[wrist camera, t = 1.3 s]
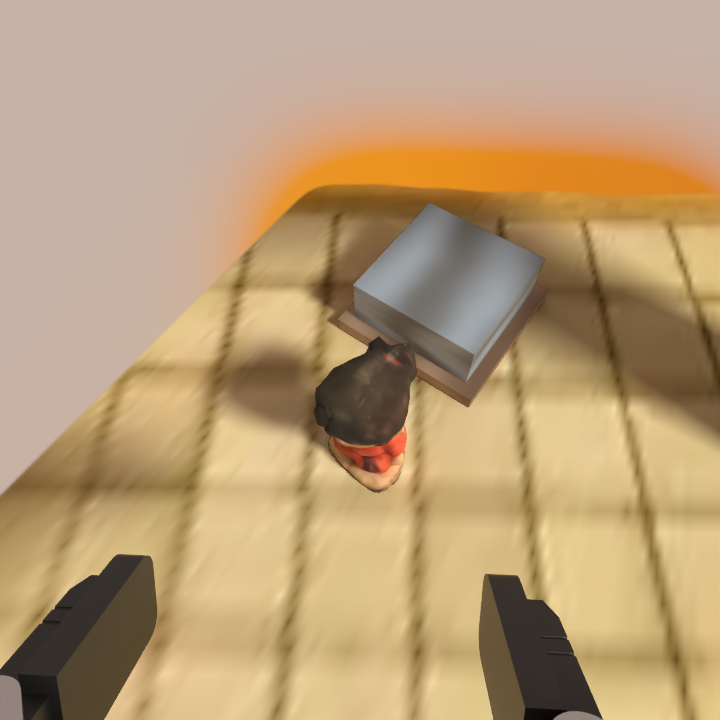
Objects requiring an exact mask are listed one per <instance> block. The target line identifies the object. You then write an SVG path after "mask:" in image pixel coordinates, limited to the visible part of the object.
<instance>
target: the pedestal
mask: <svg viewBox="0 0 720 720" xmlns="http://www.w3.org/2000/svg"><path fill="white" fill-rule="evenodd" d="M544 260H545V258H543V257H541V256H538V255H536V254H534V253H532V252H530V251H528V250H526V249H524V248H522V247H520V246H518V245H516V244H514V243H512V242H509V241H507V240H505V239H503V238H501V237H499V236H497V235H495V234H493V233H491V232H489V231H487V230H485V229H482V228H480V227H478V226H476V225H474V224H472V223H470V222H468V221H466V220H464V219H462V218H460V217H458V216H456V215H453V214H451V213H449V212H447V211H445V210H443V209H441V208H439V207H437V206H435V205H433V204H431V203H429V204H428V205H427V206H426V207H425V208H424V209H423V210H422V211H421V212H420V213H419V215H418V216H417V217H416V218H415V219H414V220H413V221H412V222H411V223H410V224H409V225H408V226H407V227H406V229H405V230H404V231H403V232H402V233H401V234H400V235H399V236H398V237H397V238H396V239H395V240H394V241H393V243H392V244H391V245H390V246H389V247H388V248H387V249H386V250H385V251H384V252H383V253H382V254H381V255H380V257H379V258H378V259H377V260H376V261H375V262H374V263H373V264H372V265H371V266H370V267H369V268H368V269H367V271H366V272H365V273H364V274H363V275H362V276H361V277H360V278H359V279H358V280H357V281H356V282H355V283H354V285H353V290H354V302H353V303H352V304H351V305H350V306H349V307H348V308H347V310H346V311H345V312H344V313H343V314H342V315H341V316H340V317H339V318H338V326H339V328H340V329H342V330H343V331H345V332H346V333H348V334H350V335H351V336H353V337H355V338H356V339H358V340H359V341H361V342H363V343H364V344H366V345H368V343H370V342H371V341H372V340H374V339H375V338H377V337H378V336H380V337H381V338H382V339H383V340H384V341H385V342H386V343H387V344H389V345H396V344H403V343H408V342H410V344H411V345H412V350H413V352H414V354H415V359H416V370H417V374H416V376H418V377H420V378H421V379H423V380H425V381H426V382H428V383H429V384H431V385H433V386H434V387H436V388H438V389H439V390H441V391H443V392H444V393H446V394H447V395H449V396H451V397H452V398H454V399H456V400H457V401H459V402H460V403H462V404H464V405H465V406H467V407H469V406H470V404H471V403H472V402H473V400H474V399H475V397H476V396H477V394H478V393H479V392H480V390H481V389H482V387H483V386H484V384H485V383H486V382H487V380H488V379H489V377H490V376H491V375H492V373H493V372H494V370H495V369H496V367H497V366H498V365H499V363H500V362H501V360H502V359H503V357H504V356H505V355H506V353H507V352H508V350H509V349H510V347H511V346H512V345H513V343H514V342H515V340H516V339H517V338H518V336H519V335H520V333H521V332H522V330H523V329H524V328H525V326H526V325H527V323H528V322H529V320H530V319H531V318H532V316H533V315H534V313H535V312H536V310H537V309H538V308H539V306H540V305H541V303H542V302H543V301H544V299H545V297H546V295H547V293H548V289H546V288H544V287H542V286H540V285H538V284H536V283H535V282H536V280H537V277H538V275H539V272H540V270H541V267H542V265H543V262H544Z"/></svg>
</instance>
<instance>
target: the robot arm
mask: <svg viewBox="0 0 720 720" xmlns="http://www.w3.org/2000/svg"><path fill="white" fill-rule="evenodd" d="M156 619H157V602H156V591H155V580H154V569H153V561H152V559H151V557H150V556H144V555H124V554H118V555H116V556H115V557H114V558H113V559H112V560H111V561H110V562H109V564H108V565H107V566H106V567H105V569H104V570H103V571H102V572H101V573H100V575H99V576H98V575H91V576H89V577H88V578H86V579H85V580H83V581H82V582H80V583H79V584H77V585H76V586H74V587H73V588H71V589H70V590H69V591H68V592H67V593H66V594H65V596H64V597H63V598H62V599H61V600H60V601H59V602H58V604H57V605H56V606H55V609H54V610H51V612H50V613H49V614H48V615H47V616H46V617H45V618H44V620H43V623H42V624H39V625H38V627H37V628H36V629H35V630H34V631H33V632H32V633H31V635H30V636H29V637H28V638H27V639H26V640H25V641H24V643H23V644H22V645H21V646H20V647H19V648H18V649H17V651H16V652H15V653H14V654H13V655H12V656H11V658H10V659H9V660H8V661H7V662H6V663H5V664H4V666H3V667H2V668H1V669H0V720H104V719H105V717H106V715H107V714H108V712H109V710H110V708H111V707H112V705H113V703H114V701H115V700H116V698H117V696H118V694H119V693H120V691H121V689H122V687H123V686H124V684H125V682H126V680H127V679H128V677H129V675H130V674H131V672H132V670H133V668H134V667H135V665H136V663H137V661H138V660H139V658H140V656H141V654H142V653H143V651H144V649H145V647H146V646H147V644H148V642H149V640H150V638H151V636H152V634H153V631H154V628H155V624H156ZM479 649H480V657H481V662H482V667H483V672H484V677H485V681H486V686H487V691H488V696H489V700H490V705H491V710H492V715H493V719H494V720H603V718H602V716H601V714H600V712H599V709H598V707H597V705H596V702H595V700H594V698H593V695H592V693H591V691H590V689H589V686H588V684H587V682H586V679H585V677H584V675H583V672H582V670H581V668H580V665H579V663H578V661H577V658H576V656H574V651H573V649H572V647H571V644H570V642H569V640H567V635H566V633H565V631H564V628H563V626H562V624H561V621H560V619H559V617H558V616H557V615H556V614H555V613H554V612H553V611H552V610H551V609H550V608H549V607H548V606H547V604H546V603H545V602H544V601H543V600H529V599H527V598H526V595H525V592H524V590H523V587H522V584H521V582H520V579H519V577H518V576H515V575H496V574H485V576H484V581H483V591H482V602H481V613H480V623H479Z"/></svg>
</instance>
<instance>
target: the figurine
mask: <svg viewBox="0 0 720 720" xmlns="http://www.w3.org/2000/svg"><path fill="white" fill-rule="evenodd" d="M368 346H369V347H368V349H367V351H366V353H365V354H363V355H361V356H358V357H356V358H353V359H351V360H349V361H347V362H346V363H344V364H342V365H340V366H337V367H335V368H334V369H333V370H332V371H331V372H330V373H329V375H328V376H327V377H326V378H325V379H324V380H323V381H322V383H321V384H320V385H319V386H318V387H317V388H316V393H315V399H316V407H315V411H314V415H315V418H316V422H317V424H318V425H320V426H323V427H324V428H325V431H326V432H327V433H328V434H329V436H330V439H329V442H328V445H329V449H330V451H331V453H332V454H333V456H334V457H335V458H336V459H337V460H338V461H339V462H340V464H341V465H342V466H343V467H344V468H345V469H346V470H347V471H348V472H349V473H350V474H351V475H352V476H353V477H355V478H356V479H357V480H358V481H359V482H360V483H361V484H363V485H364V486H365V487H366V488H368V489H369V490H371V491H373V492H378V493H379V492H382V491H385V490H387V489H388V488H389V486H390V485H392V484H394V483H395V482H396V481H397V480H398V478H399V475H400V473H401V470H402V466H403V461H404V458H405V456H404V451H405V450H404V449H405V446H406V439H407V435H406V429H405V426H404V423H405V420H406V416H407V413H408V405H409V399H410V385H411V382H412V381H413V380H414V379H415V377H416V374H417V370H416V359H415V354H414V352H413V350H412V345H411V344H410V342H408V343H403V344H396V345H389V344H387V343H386V342H385V341H384V340H383V339H382V338H381V337H380V336H378V337H377V338H375V339H374V340H372V341H371V342H370V343H368Z"/></svg>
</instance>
